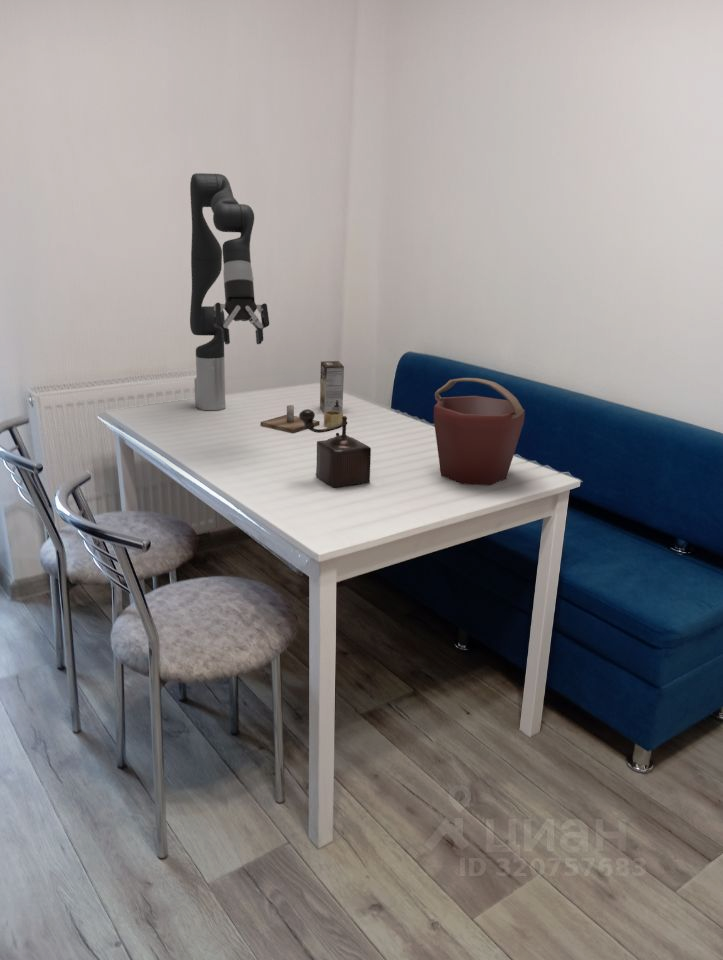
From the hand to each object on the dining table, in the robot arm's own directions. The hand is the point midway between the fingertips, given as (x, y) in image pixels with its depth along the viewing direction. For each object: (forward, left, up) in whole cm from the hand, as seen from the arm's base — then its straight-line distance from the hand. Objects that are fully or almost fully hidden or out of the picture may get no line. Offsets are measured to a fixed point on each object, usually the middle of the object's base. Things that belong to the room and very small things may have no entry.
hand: (243, 343), depth 208 cm
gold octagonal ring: (-1, +42, -30) cm, 52 cm away
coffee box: (-13, +57, -31) cm, 66 cm away
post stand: (-11, +33, -30) cm, 46 cm away
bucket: (+56, +27, -31) cm, 69 cm away
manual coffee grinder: (+31, -1, -31) cm, 44 cm away
